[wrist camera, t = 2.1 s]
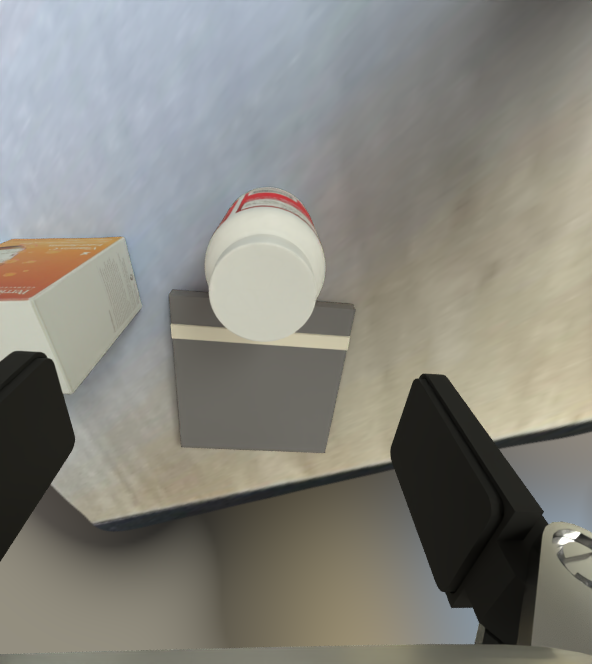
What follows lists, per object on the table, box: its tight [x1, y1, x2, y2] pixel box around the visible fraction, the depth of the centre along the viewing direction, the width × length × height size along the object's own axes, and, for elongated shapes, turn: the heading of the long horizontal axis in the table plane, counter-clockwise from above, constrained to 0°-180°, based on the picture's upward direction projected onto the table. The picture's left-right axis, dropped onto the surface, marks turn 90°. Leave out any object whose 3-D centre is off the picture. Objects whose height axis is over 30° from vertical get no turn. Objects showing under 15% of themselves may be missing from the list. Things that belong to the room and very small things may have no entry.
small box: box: [0, 237, 142, 394], centre depth 21 cm, size 8×6×10 cm
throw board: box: [169, 290, 355, 453], centre depth 30 cm, size 16×14×1 cm
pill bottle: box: [205, 187, 326, 342], centre depth 20 cm, size 6×6×11 cm
